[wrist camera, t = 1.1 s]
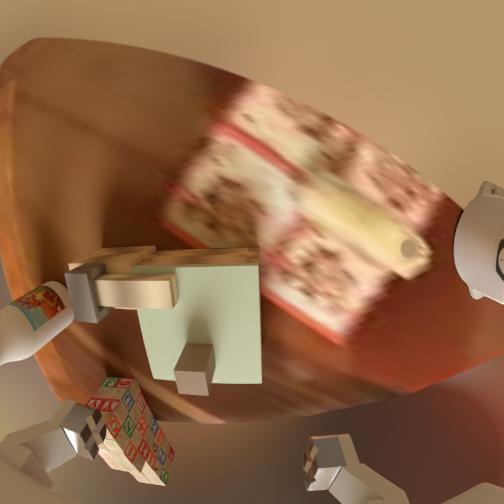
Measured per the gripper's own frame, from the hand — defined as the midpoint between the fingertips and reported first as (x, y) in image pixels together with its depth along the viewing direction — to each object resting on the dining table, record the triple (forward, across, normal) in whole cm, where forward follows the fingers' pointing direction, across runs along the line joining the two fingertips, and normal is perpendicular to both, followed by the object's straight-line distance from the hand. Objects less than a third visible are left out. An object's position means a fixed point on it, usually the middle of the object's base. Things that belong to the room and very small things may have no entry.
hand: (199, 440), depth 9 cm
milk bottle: (+28, +29, +10) cm, 41 cm away
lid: (+20, +3, +6) cm, 21 cm away
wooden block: (+19, +10, +2) cm, 21 cm away
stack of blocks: (+28, +16, +32) cm, 46 cm away
